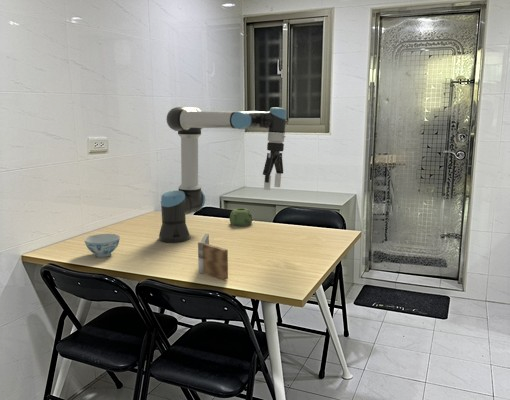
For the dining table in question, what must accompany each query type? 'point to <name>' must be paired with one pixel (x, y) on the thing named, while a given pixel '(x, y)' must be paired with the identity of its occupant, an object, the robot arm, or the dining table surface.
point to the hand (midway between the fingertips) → (272, 188)
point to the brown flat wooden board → (214, 260)
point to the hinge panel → (201, 260)
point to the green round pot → (240, 217)
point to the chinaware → (102, 244)
